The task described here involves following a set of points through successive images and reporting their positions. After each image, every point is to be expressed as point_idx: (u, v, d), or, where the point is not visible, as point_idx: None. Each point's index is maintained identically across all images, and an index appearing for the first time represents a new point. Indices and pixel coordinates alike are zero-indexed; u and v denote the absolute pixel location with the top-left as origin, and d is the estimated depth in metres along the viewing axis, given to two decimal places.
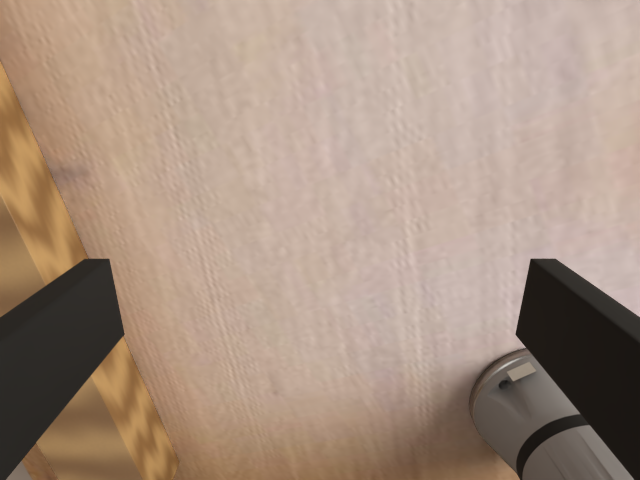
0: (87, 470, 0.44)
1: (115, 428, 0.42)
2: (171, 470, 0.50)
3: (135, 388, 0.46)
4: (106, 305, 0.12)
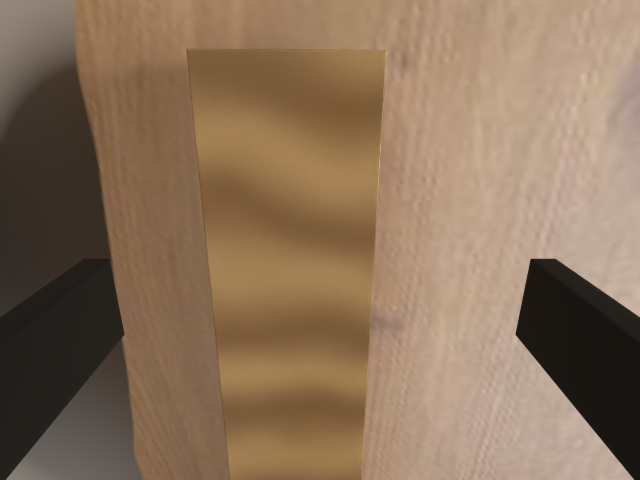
0: None
1: None
2: None
3: None
4: (106, 305, 0.12)
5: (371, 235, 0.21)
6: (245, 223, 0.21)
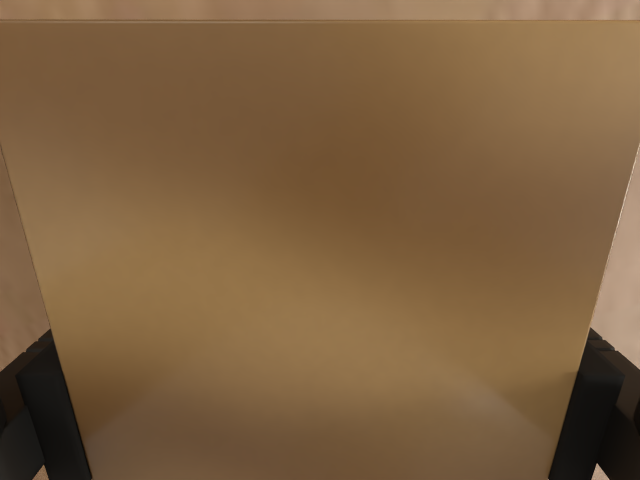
0: None
1: None
2: None
3: None
4: None
5: None
6: None
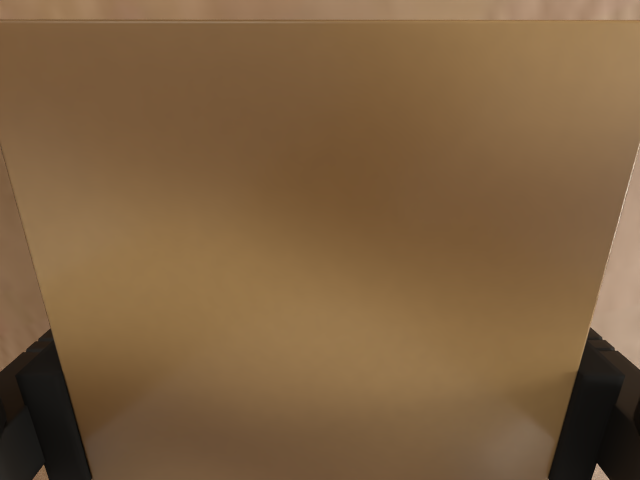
0: None
1: None
2: None
3: None
4: None
5: None
6: None
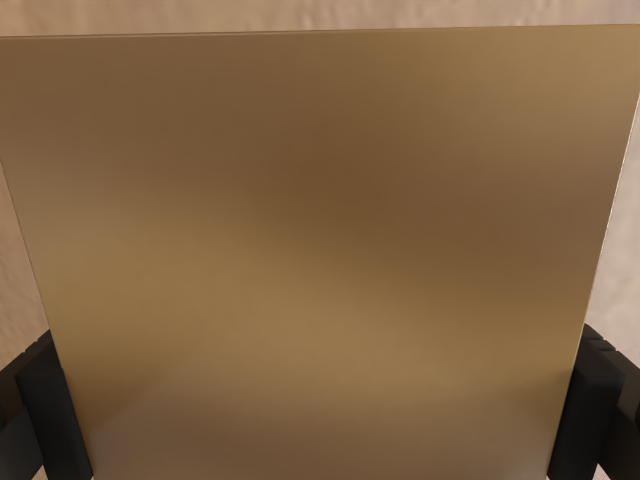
0: None
1: None
2: None
3: None
4: None
5: None
6: None
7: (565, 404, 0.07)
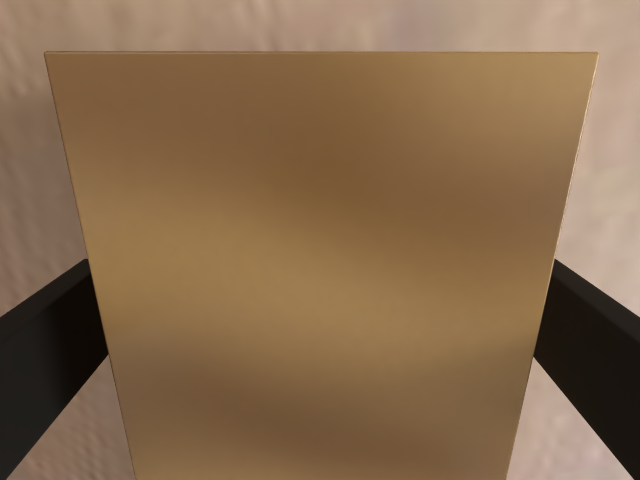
0: None
1: None
2: None
3: None
4: None
5: (501, 461, 0.10)
6: (221, 442, 0.09)
7: None
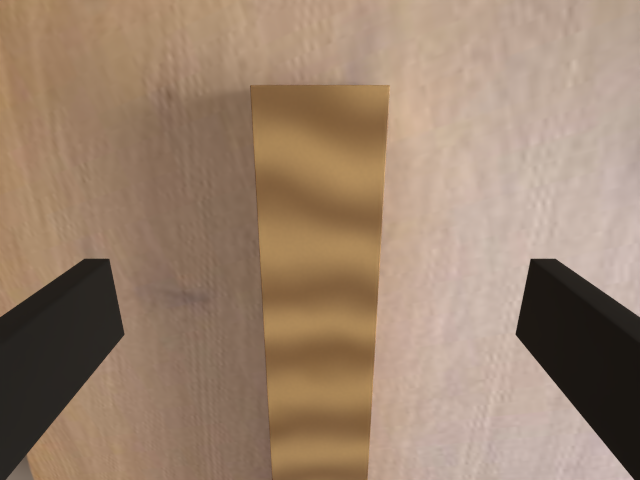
0: None
1: None
2: None
3: None
4: (106, 305, 0.12)
5: (379, 216, 0.29)
6: (287, 208, 0.29)
7: None
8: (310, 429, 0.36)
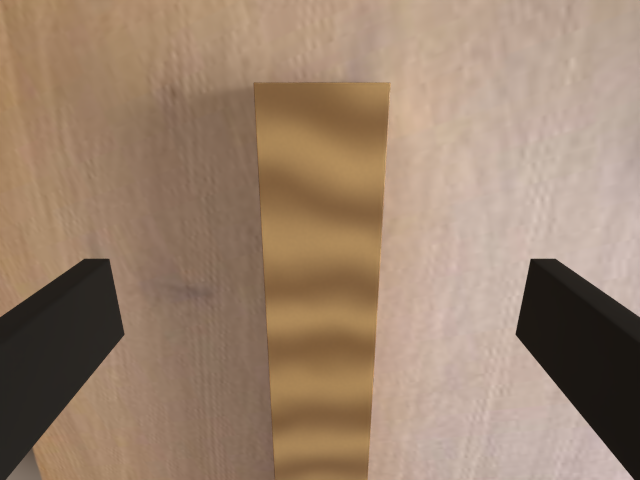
0: None
1: None
2: None
3: None
4: (106, 305, 0.12)
5: (380, 212, 0.30)
6: (289, 203, 0.30)
7: None
8: (312, 421, 0.37)
